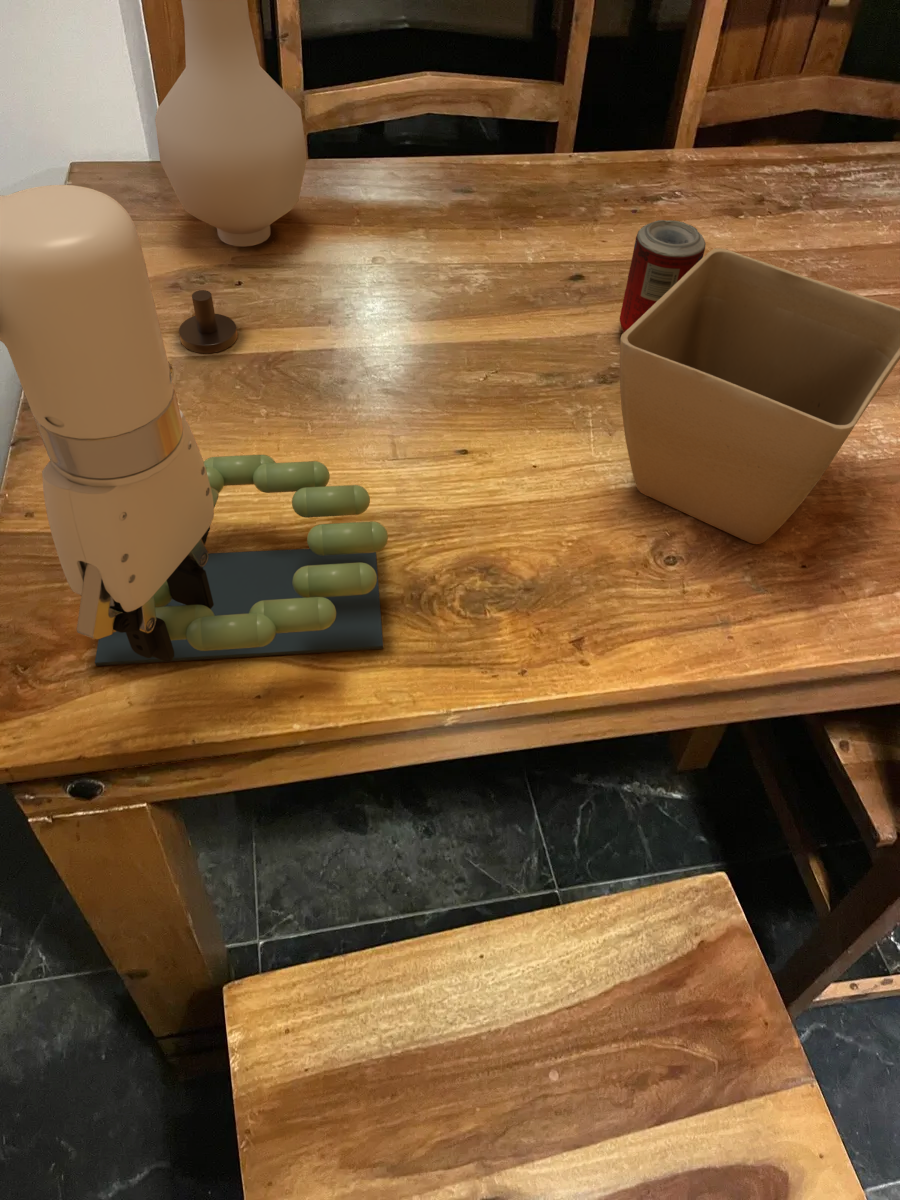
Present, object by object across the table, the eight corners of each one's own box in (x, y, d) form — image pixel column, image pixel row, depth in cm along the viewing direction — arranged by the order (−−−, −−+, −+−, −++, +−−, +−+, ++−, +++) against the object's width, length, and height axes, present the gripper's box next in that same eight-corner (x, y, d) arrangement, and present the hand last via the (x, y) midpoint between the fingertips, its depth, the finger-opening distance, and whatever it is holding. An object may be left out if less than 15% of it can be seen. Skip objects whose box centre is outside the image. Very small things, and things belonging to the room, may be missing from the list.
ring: (62, 667, 64) (52, 646, 63) (98, 478, 77) (91, 456, 75) (398, 644, 67) (397, 623, 65) (379, 464, 79) (379, 442, 77)
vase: (332, 253, 112) (317, -15, 91) (198, 280, 107) (149, 3, 86) (285, 191, 122) (261, -64, 101) (160, 213, 117) (107, -51, 95)
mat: (95, 665, 71) (94, 662, 71) (113, 561, 78) (112, 557, 78) (383, 649, 74) (383, 645, 73) (375, 548, 81) (375, 545, 80)
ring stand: (178, 354, 98) (169, 311, 94) (182, 321, 102) (174, 280, 98) (236, 352, 98) (229, 310, 95) (238, 320, 102) (232, 279, 98)
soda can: (682, 357, 101) (711, 251, 92) (617, 352, 101) (639, 246, 92) (677, 321, 106) (704, 217, 97) (615, 316, 106) (636, 212, 97)
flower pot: (583, 494, 86) (616, 337, 74) (674, 395, 97) (715, 242, 84) (777, 587, 80) (849, 432, 67) (851, 470, 90) (926, 316, 77)
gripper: (142, 328, 58) (193, 534, 72) (-49, 497, 48) (53, 699, 62) (247, 359, 56) (279, 564, 70) (72, 541, 46) (150, 739, 60)
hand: (173, 625), depth 66 cm, fingers closed on ring, 4 cm apart
